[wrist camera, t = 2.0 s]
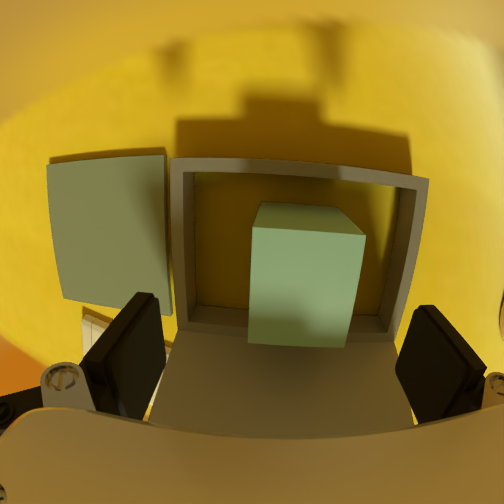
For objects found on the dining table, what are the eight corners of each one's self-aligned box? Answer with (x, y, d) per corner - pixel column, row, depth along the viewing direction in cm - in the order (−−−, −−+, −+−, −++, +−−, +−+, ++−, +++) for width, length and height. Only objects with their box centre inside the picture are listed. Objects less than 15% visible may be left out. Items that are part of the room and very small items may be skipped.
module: (336, 206, 19) (366, 235, 12) (326, 289, 21) (343, 347, 14) (261, 201, 19) (252, 227, 13) (257, 285, 21) (247, 342, 15)
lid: (428, 500, 9) (414, 505, 10) (395, 338, 19) (388, 351, 20) (123, 492, 10) (133, 497, 11) (176, 326, 20) (180, 340, 21)
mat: (166, 154, 19) (163, 154, 18) (173, 313, 23) (170, 316, 22) (50, 164, 19) (46, 164, 19) (66, 296, 23) (63, 298, 23)
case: (412, 175, 18) (429, 178, 15) (384, 324, 21) (394, 341, 19) (183, 157, 19) (170, 158, 16) (187, 312, 22) (177, 330, 20)
